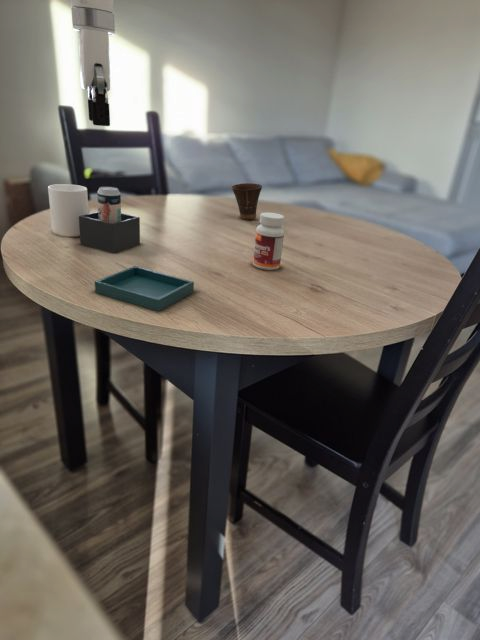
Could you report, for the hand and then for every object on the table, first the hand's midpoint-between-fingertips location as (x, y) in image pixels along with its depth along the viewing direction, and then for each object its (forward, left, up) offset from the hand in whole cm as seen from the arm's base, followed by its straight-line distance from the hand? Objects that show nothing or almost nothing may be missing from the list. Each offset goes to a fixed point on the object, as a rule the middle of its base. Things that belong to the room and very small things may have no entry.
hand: (99, 123), depth 98 cm
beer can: (+2, 0, -25) cm, 25 cm away
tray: (+25, -18, -25) cm, 40 cm away
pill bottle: (+36, +11, -25) cm, 45 cm away
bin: (+2, 0, -25) cm, 25 cm away
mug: (-12, +2, -25) cm, 28 cm away
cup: (+12, +49, -25) cm, 56 cm away
